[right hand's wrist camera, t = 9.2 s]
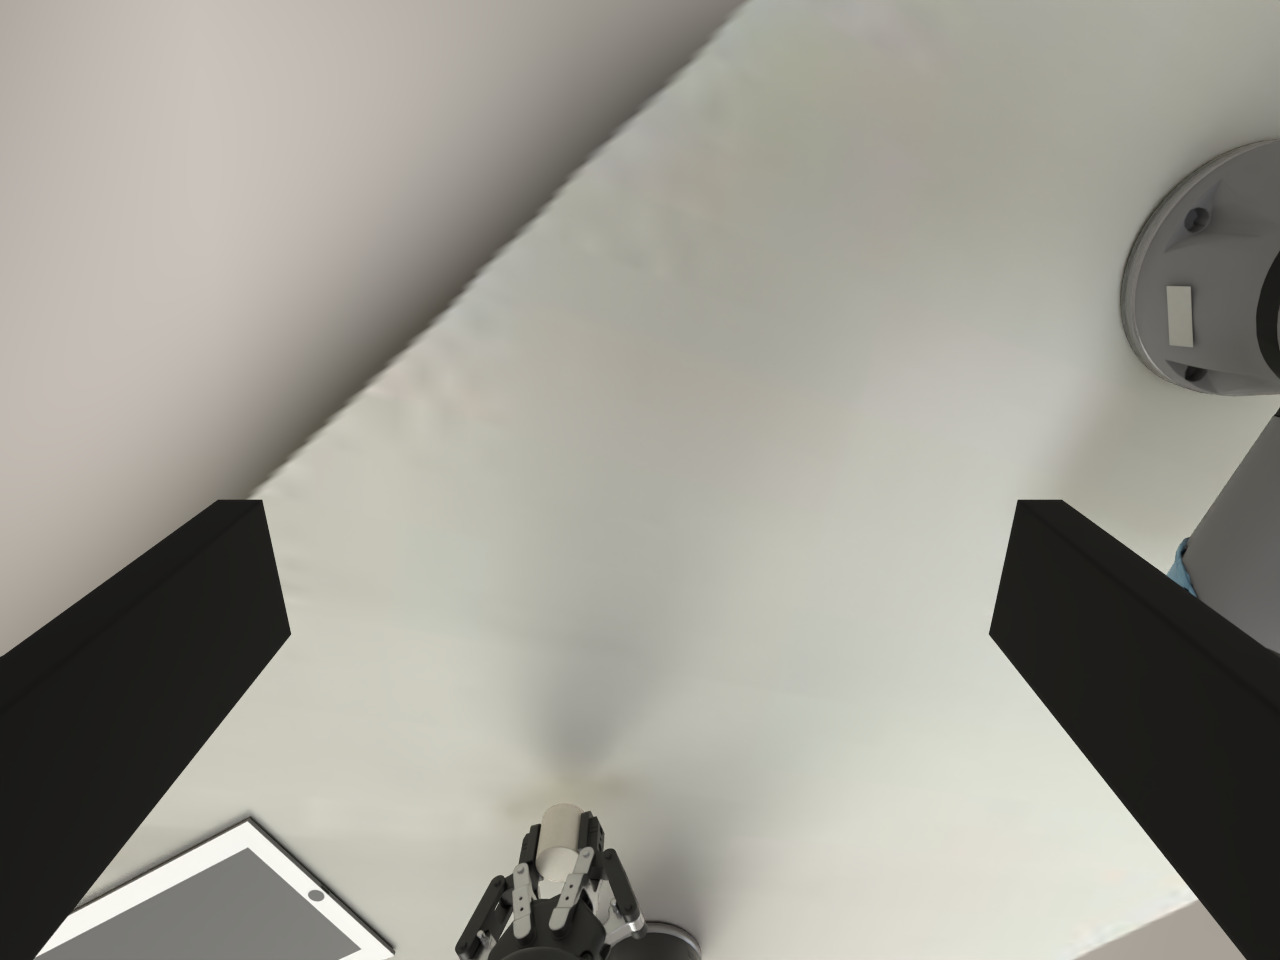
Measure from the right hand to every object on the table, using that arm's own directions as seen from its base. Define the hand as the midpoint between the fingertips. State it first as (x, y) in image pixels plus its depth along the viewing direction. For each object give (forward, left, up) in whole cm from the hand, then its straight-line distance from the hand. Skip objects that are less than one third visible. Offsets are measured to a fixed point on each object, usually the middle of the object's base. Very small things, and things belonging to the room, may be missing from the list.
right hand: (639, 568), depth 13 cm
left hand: (+17, +38, -32) cm, 53 cm away
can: (+17, +38, -33) cm, 53 cm away
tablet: (+58, +47, -36) cm, 83 cm away
